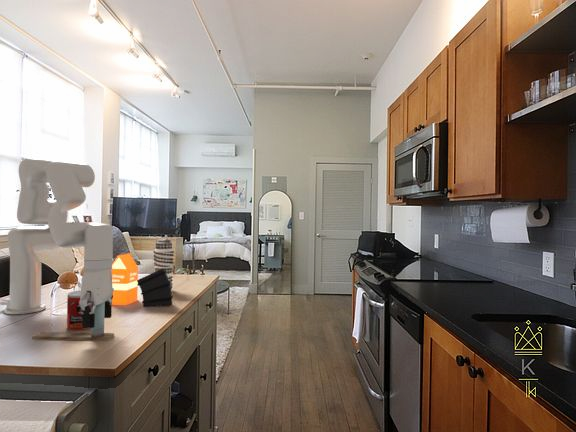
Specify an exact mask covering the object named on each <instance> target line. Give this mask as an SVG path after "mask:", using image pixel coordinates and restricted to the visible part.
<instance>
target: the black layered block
mask: <svg viewBox="0 0 576 432" xmlns="http://www.w3.org/2000/svg"><path fill="white" fill-rule="evenodd" d="M137 282H138V284H137V285H138V287H139V288H140V290H141V293H140V295H141V296H142V301H141V303H142V307H144V308H145V307H147V308H149V307H150V308H151V307H152V308H153V307H171V306H172V304H173V299H174V296H173V294H172V292H171V287H170V284H171V282H169V279H168V276H167V274H166V270H164V268H162V269H160V270H158V271H156V272H155V271H154V272H152V273H150V274H147V275H145V276H143V277H141V278H138V280H137Z"/></svg>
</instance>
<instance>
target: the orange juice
mask: <svg viewBox="0 0 576 432" xmlns="http://www.w3.org/2000/svg"><path fill="white" fill-rule="evenodd" d="M111 271H112V288H114V292H113V299H112V304H111V305H112V306H114V305H116V306H119V305H120V306H127V305H130V304H132V303H134V302H137V301H138V293H139V292H138V291H139V289H138V288H139V286H138V285H137V284H138V282H137V280H139V277H138V276H139V273H138V272H139V266H138V265H137V263H136V261H135V260H134V258H133V256H132V255H131V253H125V254H120V255H119V254H118V256H117V257H116V258H115V260H114V261H113V263H112V270H111Z"/></svg>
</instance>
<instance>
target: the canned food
mask: <svg viewBox="0 0 576 432" xmlns="http://www.w3.org/2000/svg"><path fill="white" fill-rule="evenodd" d="M80 295H81V290H76V291H71V292H69V293H68V294H67V302H66V303H67V304H66V305H67V307H66V310H67V311H66V326H67V329H68V330H71V331H80V330H86V329H87V328H83V327H82V318H83V314H82V313H81V312H82V311H81V310H80V308H81V307H80V304H79V301H80ZM88 307H89V308H90V309H91V306H88Z"/></svg>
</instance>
